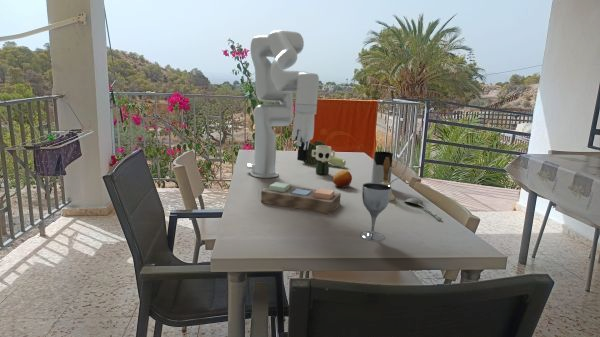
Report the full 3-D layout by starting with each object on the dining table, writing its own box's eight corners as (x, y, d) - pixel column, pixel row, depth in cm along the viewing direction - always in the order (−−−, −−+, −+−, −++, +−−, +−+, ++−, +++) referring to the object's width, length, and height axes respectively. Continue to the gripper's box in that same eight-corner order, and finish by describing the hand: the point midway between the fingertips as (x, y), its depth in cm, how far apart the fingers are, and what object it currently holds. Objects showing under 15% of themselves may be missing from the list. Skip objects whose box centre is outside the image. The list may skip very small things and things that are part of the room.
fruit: (355, 186, 163) (346, 169, 163) (338, 194, 165) (329, 177, 165) (356, 181, 171) (348, 165, 170) (340, 189, 173) (331, 173, 172)
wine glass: (355, 230, 119) (359, 182, 116) (381, 231, 120) (386, 182, 116) (361, 241, 111) (366, 189, 108) (389, 241, 112) (395, 190, 109)
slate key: (290, 200, 140) (291, 192, 140) (296, 196, 146) (296, 188, 145) (305, 203, 139) (306, 194, 138) (311, 198, 144) (311, 190, 143)
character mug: (311, 175, 185) (312, 147, 182) (309, 171, 192) (311, 144, 189) (334, 175, 186) (336, 148, 183) (332, 172, 193) (334, 145, 190)
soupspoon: (417, 203, 153) (401, 204, 152) (417, 195, 153) (401, 196, 152) (448, 221, 132) (429, 223, 131) (448, 211, 132) (430, 213, 130)
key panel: (261, 202, 141) (261, 191, 140) (274, 193, 152) (275, 183, 151) (330, 213, 133) (331, 202, 132) (339, 204, 144) (340, 193, 143)
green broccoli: (349, 166, 209) (350, 144, 206) (339, 170, 199) (340, 147, 197) (307, 159, 221) (309, 139, 219) (296, 162, 211) (297, 141, 209)
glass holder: (371, 184, 174) (374, 150, 171) (404, 188, 170) (408, 154, 167) (368, 188, 166) (371, 153, 163) (402, 193, 162) (407, 157, 159)
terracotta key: (313, 200, 137) (314, 192, 137) (318, 196, 143) (319, 188, 142) (329, 203, 136) (329, 194, 135) (333, 198, 141) (334, 190, 140)
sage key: (269, 193, 143) (269, 185, 142) (275, 189, 148) (275, 181, 147) (283, 195, 141) (284, 187, 140) (289, 191, 146) (289, 184, 146)
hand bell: (382, 201, 150) (386, 160, 146) (368, 195, 157) (372, 155, 153) (399, 199, 153) (404, 159, 150) (385, 193, 160) (389, 154, 157)
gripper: (303, 106, 147) (299, 155, 152) (287, 109, 133) (284, 162, 138) (322, 108, 145) (318, 158, 149) (308, 111, 131) (304, 166, 135)
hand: (302, 160), depth 143 cm, fingers closed
